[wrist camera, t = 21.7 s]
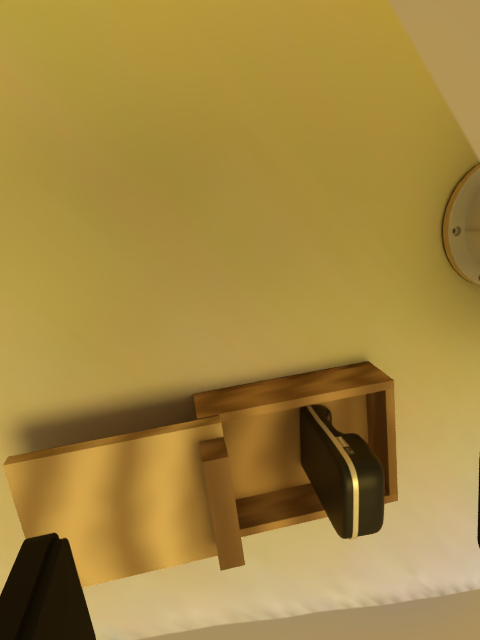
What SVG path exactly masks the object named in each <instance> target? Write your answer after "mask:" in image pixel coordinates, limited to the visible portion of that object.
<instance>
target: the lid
mask: <svg viewBox="0 0 480 640" xmlns="http://www.w3.org/2000/svg"><path fill="white" fill-rule="evenodd" d="M3 468H4V471H5V474H6V477H7V480H8V484H9V487H10V490H11V493H12V497H13V500H14V503H15V506H16V509H17V513H18V516H19V519H20V522H21V525H22V529H23V532H24V535H25V538H26V539H27V538H31V537H36V536H41V535H45V534H50V533H57V534H58V536H59V538H60V539H62V538H67V539H68V541H69V544H70V547H71V551H72V554H73V558H74V561H75V565H76V569H77V572H78V576H79V579H80V583H81V586H82V587H87V586H91V585H95V584H99V583H103V582H108V581H112V580H116V579H120V578H125V577H129V576H133V575H137V574H141V573H146V572H150V571H154V570H158V569H163V568H167V567H171V566H175V565H180V564H184V563H188V562H192V561H196V560H201V559H205V558H209V557H213V556H218V558H219V564H220V570H225V569H230V568H234V567H238V566H242V565H245V561H244V555H243V548H242V542H241V535H240V528H239V522H238V515H237V509H236V502H235V495H234V489H233V482H232V476H231V469H230V462H229V456H228V452H227V448H226V445H225V441H224V437H223V430H222V424H221V419H220V416H216V417H210V418H205V419H200V420H195V421H190V422H185V423H180V424H175V425H169V426H164V427H159V428H154V429H149V430H144V431H139V432H133V433H128V434H123V435H118V436H113V437H108V438H103V439H97V440H92V441H87V442H82V443H77V444H72V445H67V446H61V447H56V448H51V449H46V450H41V451H36V452H31V453H26V454H20V455H15V456H10V457H8V458H7V460H6V461H5V463H4V464H3Z"/></svg>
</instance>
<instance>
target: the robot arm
mask: <svg viewBox="0 0 480 640" xmlns="http://www.w3.org/2000/svg"><path fill="white" fill-rule="evenodd" d="M443 239H444V247H445V250H446V253H447V256H448V259H449V261H450V262H451V264H452V266H453V268H454V269H455V270H456V271H457V272H458V273H459V274H460V276H461V277H463V278H464V279H466V280H467V281H469V282H470V283H473V284H475V285H478V286H480V164H478V165H477V166H476V167H474V168H473V169H472V170H471V171H470V172H469V173H467V174H466V176H465V177H464V178H463V179H462V180H461V182H460V183H459V184H458V186H457V187H456V189H455V191H454V192H453V194H452V196H451V198H450V201H449V203H448V206H447V209H446V213H445V218H444V223H443ZM478 544H479V548H480V459H479V500H478ZM0 640H96V637H95V633H94V629H93V626H92V622H91V619H90V615H89V611H88V608H87V604H86V601H85V597H84V594H83V590H82V586H81V583H80V579H79V576H78V572H77V569H76V565H75V561H74V558H73V554H72V551H71V547H70V544H69V541H68V539H67V538H62V539H60V538H59V536H58V534H57V533H50V534H45V535H41V536H36V537H31V538H27V539H26V540H25V541H24V542H23V544H22V546H21V549H20V551H19V553H18V556H17V558H16V560H15V563H14V565H13V567H12V570H11V572H10V574H9V577H8V579H7V581H6V584H5V586H4V588H3V591H2V593H1V595H0Z"/></svg>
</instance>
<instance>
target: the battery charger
mask: <svg viewBox="0 0 480 640" xmlns="http://www.w3.org/2000/svg"><path fill="white" fill-rule="evenodd" d="M300 445H301V466H302V468H303V469H304V471H305V473H306V475H307V477H308V478H309V480H310V482H311V484H312V486H313V488H314V490H315V492H316V494H317V496H318V498H319V500H320V502H321V504H322V506H323V508H324V510H325V512H326V514H327V516H328V518H329V519H330V521H331V523H332V525H333V527H334V529H335V530H336V532H337V533H338V535H339V536H340V537H341V538H343V539H346V538H348V539H355V538H357V537H358V536H363V535H369V534H373V533H376V532H378V531H379V530H380V529H381V527H382V525H383V518H384V491H385V476H384V469H383V467H382V464H381V462H380V460H379V459H378V457H377V456H376V455H375V453H374V452H373V451H372V449H371V448H370V447H369V445H368V444H367V443H366V442H365V441H364V440H363V439H362V438H361V437H360V436H359V435H358V434H355V433H348V434H344V433H341V432H339V431H337V430H336V429H335V428H334V427H333V425H332V414H331V412H330V410H329V409H328V408H326V407H324V406H306V407H303V408H301V409H300Z"/></svg>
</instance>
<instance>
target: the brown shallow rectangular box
mask: <svg viewBox="0 0 480 640" xmlns="http://www.w3.org/2000/svg"><path fill="white" fill-rule="evenodd" d="M193 396H194V403H195V410H196V416H197V420H200V419H205V418H210V417H216V416H220V419H221V424H222V430H223V437H224V441H225V445H226V448H227V452H228V456H229V462H230V469H231V476H232V482H233V489H234V495H235V502H236V509H237V515H238V522H239V528H240V535H241V537H243V536H248V535H252V534H256V533H260V532H265V531H269V530H273V529H278V528H282V527H286V526H291V525H295V524H299V523H303V522H308V521H312V520H316V519H321V518H325V517H328V516H327V514H326V512H325V510H324V508H323V506H322V504H321V502H320V500H319V498H318V496H317V494H316V492H315V490H314V488H313V486H312V484H311V482H310V480H309V478H308V477H307V475H306V473H305V471H304V469H303V468H302V466H301V445H300V409H301V408H303V407H306V406H324V407H326V408H328V409H329V410H330V412H331V414H332V425H333V427H334V428H335V429H336V430H337V431H339V432H341V433H344V434H348V433H355V434H358V435H359V436H360V437H361V438H362V439H363V440H364V441H365V442H366V443H367V444H368V445H369V447H370V448H371V449H372V451H373V452H374V453H375V455H376V456H377V457H378V459H379V460H380V462H381V464H382V467H383V469H384V476H385V491H384V504H385V503H389V502H394V501H398V491H397V461H396V432H395V402H394V380H393V379H391V378H390V377H389V376H387V375H386V374H385V373H383V372H382V371H381V370H379V369H378V368H377V367H375V366H374V365H373V364H371V363H370V362H369V361H368V362H362V363H357V364H352V365H346V366H341V367H336V368H330V369H325V370H319V371H314V372H309V373H303V374H298V375H293V376H287V377H282V378H277V379H271V380H266V381H261V382H255V383H250V384H244V385H239V386H234V387H228V388H223V389H218V390H212V391H207V392H202V393H196V394H193Z"/></svg>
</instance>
